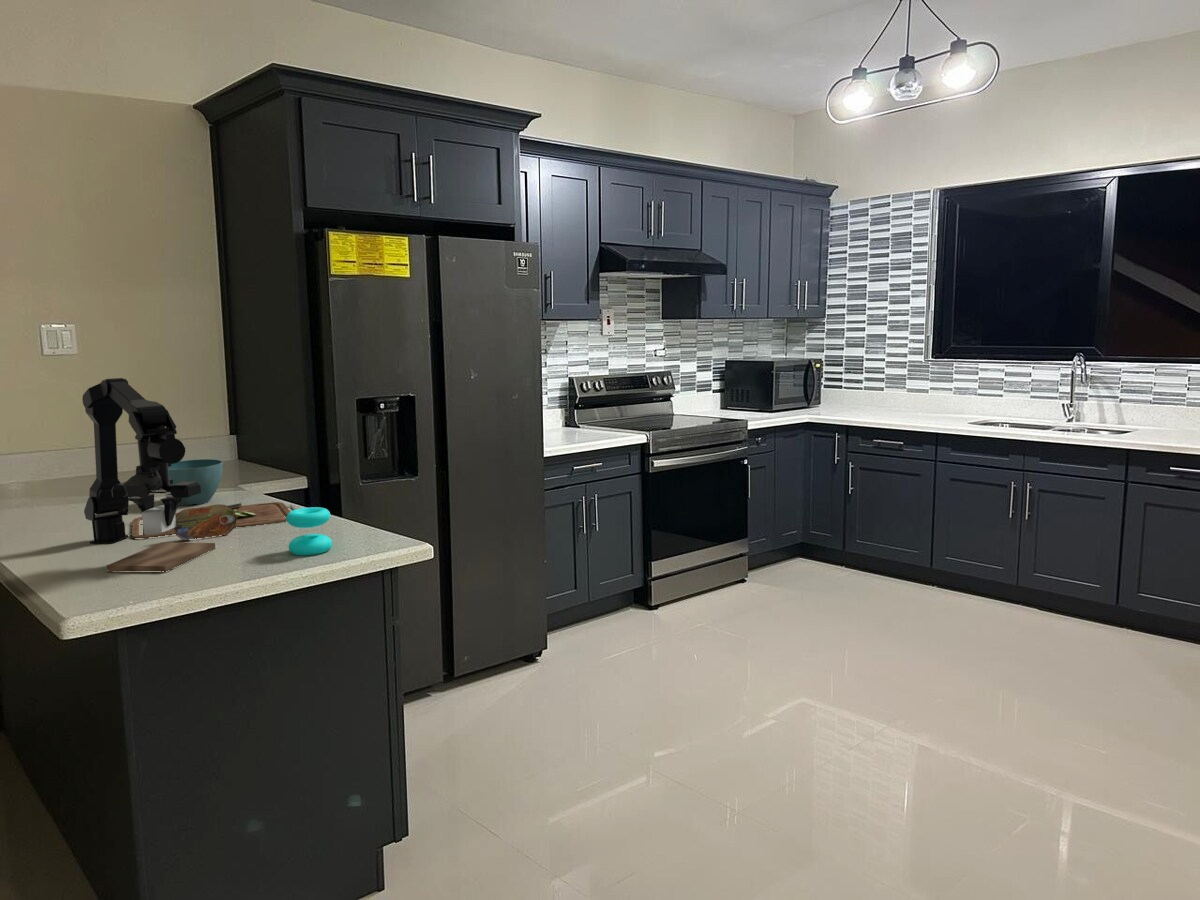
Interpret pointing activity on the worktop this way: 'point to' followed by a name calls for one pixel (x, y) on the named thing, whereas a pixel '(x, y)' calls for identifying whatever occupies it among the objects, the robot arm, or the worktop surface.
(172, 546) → the walnut board
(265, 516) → the chopping board
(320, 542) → the donuts
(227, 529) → the tin
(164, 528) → the smooth grey rounded block
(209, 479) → the teal bowl
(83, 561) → the worktop surface
